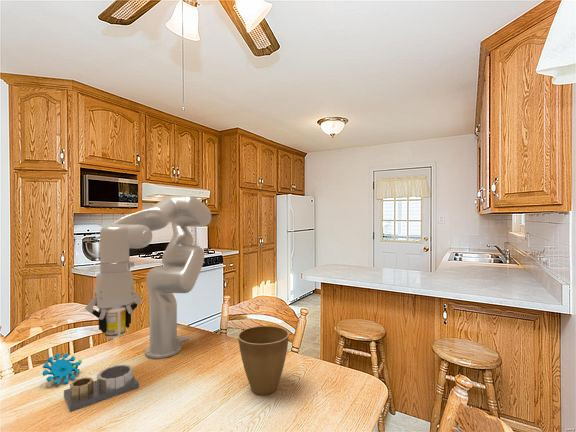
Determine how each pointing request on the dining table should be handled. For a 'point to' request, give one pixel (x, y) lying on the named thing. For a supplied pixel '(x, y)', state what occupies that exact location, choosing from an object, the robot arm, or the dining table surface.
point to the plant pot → (263, 356)
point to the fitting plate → (97, 395)
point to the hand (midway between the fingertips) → (115, 328)
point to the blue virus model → (61, 368)
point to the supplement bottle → (115, 322)
